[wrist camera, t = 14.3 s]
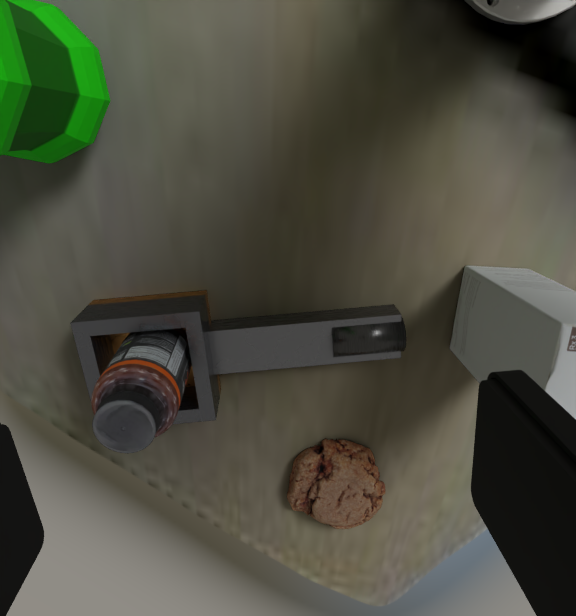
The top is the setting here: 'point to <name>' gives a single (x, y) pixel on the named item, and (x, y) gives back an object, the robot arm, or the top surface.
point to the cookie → (336, 484)
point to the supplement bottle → (141, 389)
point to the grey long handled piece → (234, 340)
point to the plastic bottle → (47, 83)
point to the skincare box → (518, 328)
